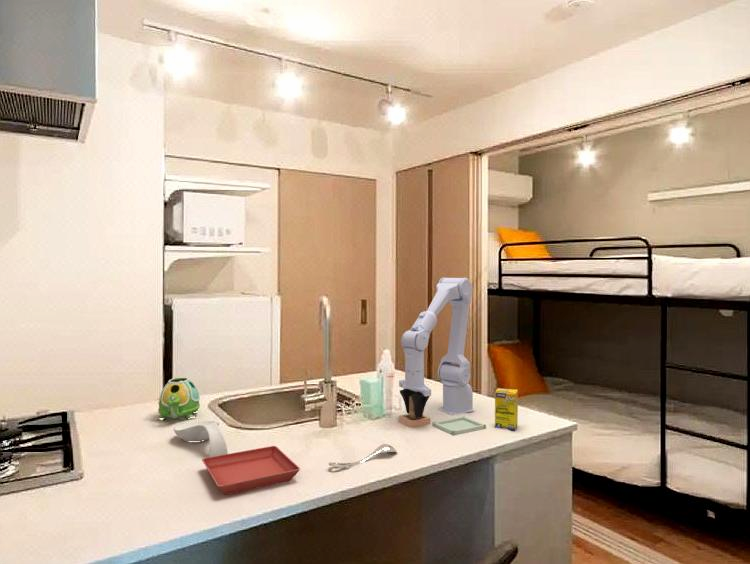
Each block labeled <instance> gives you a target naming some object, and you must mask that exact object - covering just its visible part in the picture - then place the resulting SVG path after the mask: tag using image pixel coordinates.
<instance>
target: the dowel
mask: <svg viewBox="0 0 750 564" xmlns="http://www.w3.org/2000/svg"><path fill="white" fill-rule="evenodd" d="M409 419H410V420H417V419H420V417H418V418H417V417H415V411H414V403H413V399H412V397H411V396H409Z"/></svg>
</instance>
